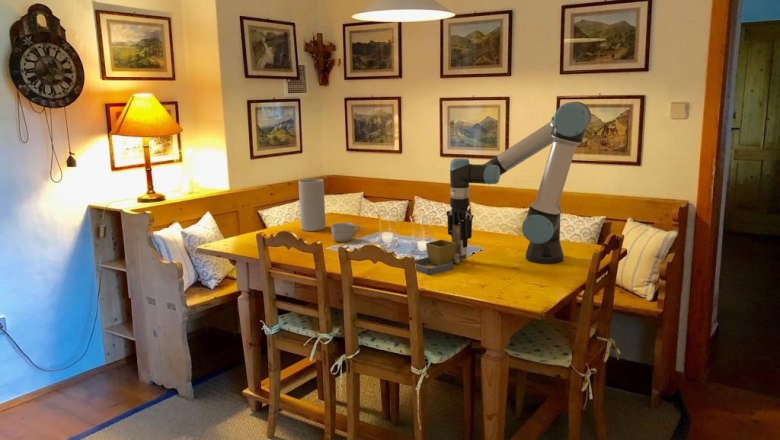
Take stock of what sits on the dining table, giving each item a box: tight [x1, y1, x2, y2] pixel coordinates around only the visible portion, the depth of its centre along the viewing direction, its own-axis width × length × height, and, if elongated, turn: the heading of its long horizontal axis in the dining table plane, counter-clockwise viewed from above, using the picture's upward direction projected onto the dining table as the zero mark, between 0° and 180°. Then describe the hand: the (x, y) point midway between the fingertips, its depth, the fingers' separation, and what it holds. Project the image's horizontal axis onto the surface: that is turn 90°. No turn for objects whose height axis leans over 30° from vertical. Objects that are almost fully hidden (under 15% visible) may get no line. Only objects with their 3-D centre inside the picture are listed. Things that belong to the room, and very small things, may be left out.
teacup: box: [330, 222, 362, 243], centre depth 302 cm, size 14×11×8 cm
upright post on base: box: [451, 223, 467, 264], centre depth 260 cm, size 9×8×14 cm
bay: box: [414, 256, 454, 276], centre depth 253 cm, size 14×12×2 cm
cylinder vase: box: [298, 178, 327, 232], centre depth 327 cm, size 12×12×25 cm
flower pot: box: [425, 239, 456, 266], centre depth 257 cm, size 9×9×9 cm
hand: (459, 253), depth 262 cm, fingers closed on upright post on base, 4 cm apart
